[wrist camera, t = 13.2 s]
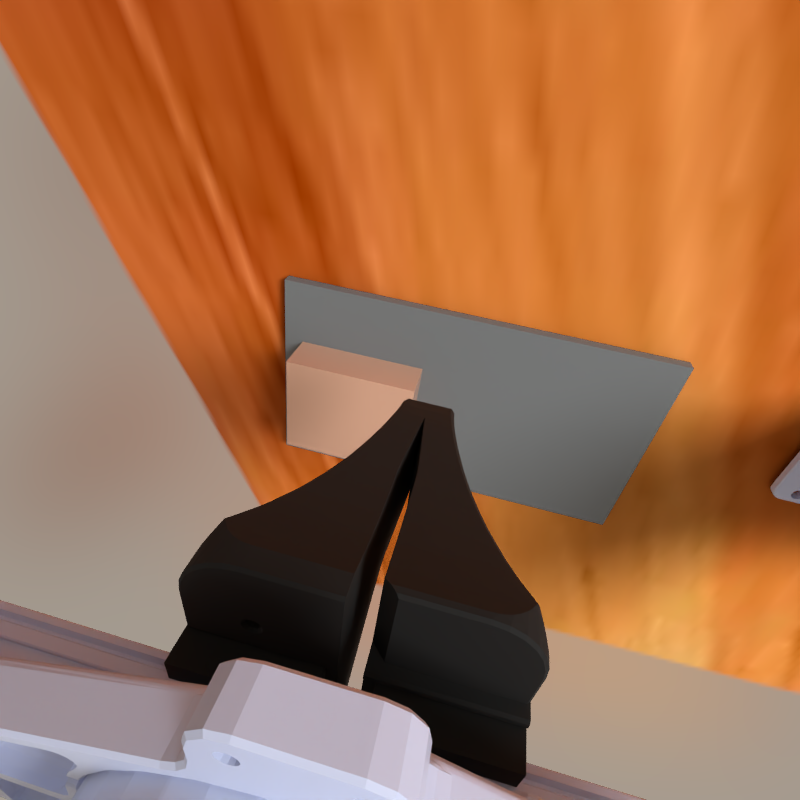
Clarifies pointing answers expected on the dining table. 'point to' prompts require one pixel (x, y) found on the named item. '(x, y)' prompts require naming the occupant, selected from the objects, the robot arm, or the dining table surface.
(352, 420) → the tile
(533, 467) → the mat
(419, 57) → the dining table surface
